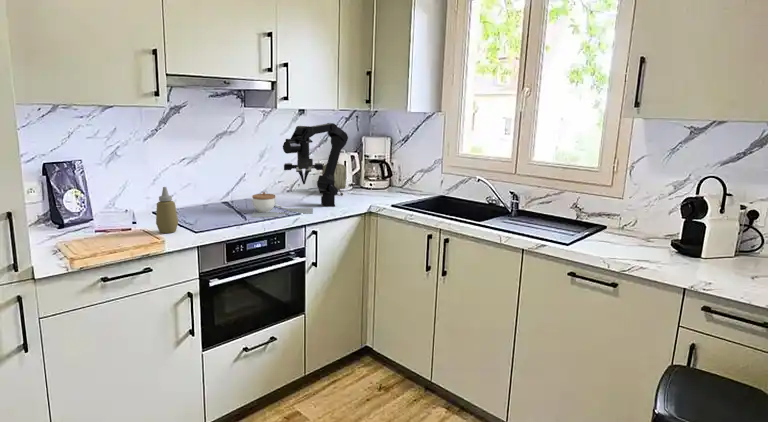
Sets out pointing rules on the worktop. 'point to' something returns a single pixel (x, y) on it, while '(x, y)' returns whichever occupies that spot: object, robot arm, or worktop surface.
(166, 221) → the squeeze bottle
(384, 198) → the worktop surface
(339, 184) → the olive tall container
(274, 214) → the t mat
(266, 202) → the lidded jar
